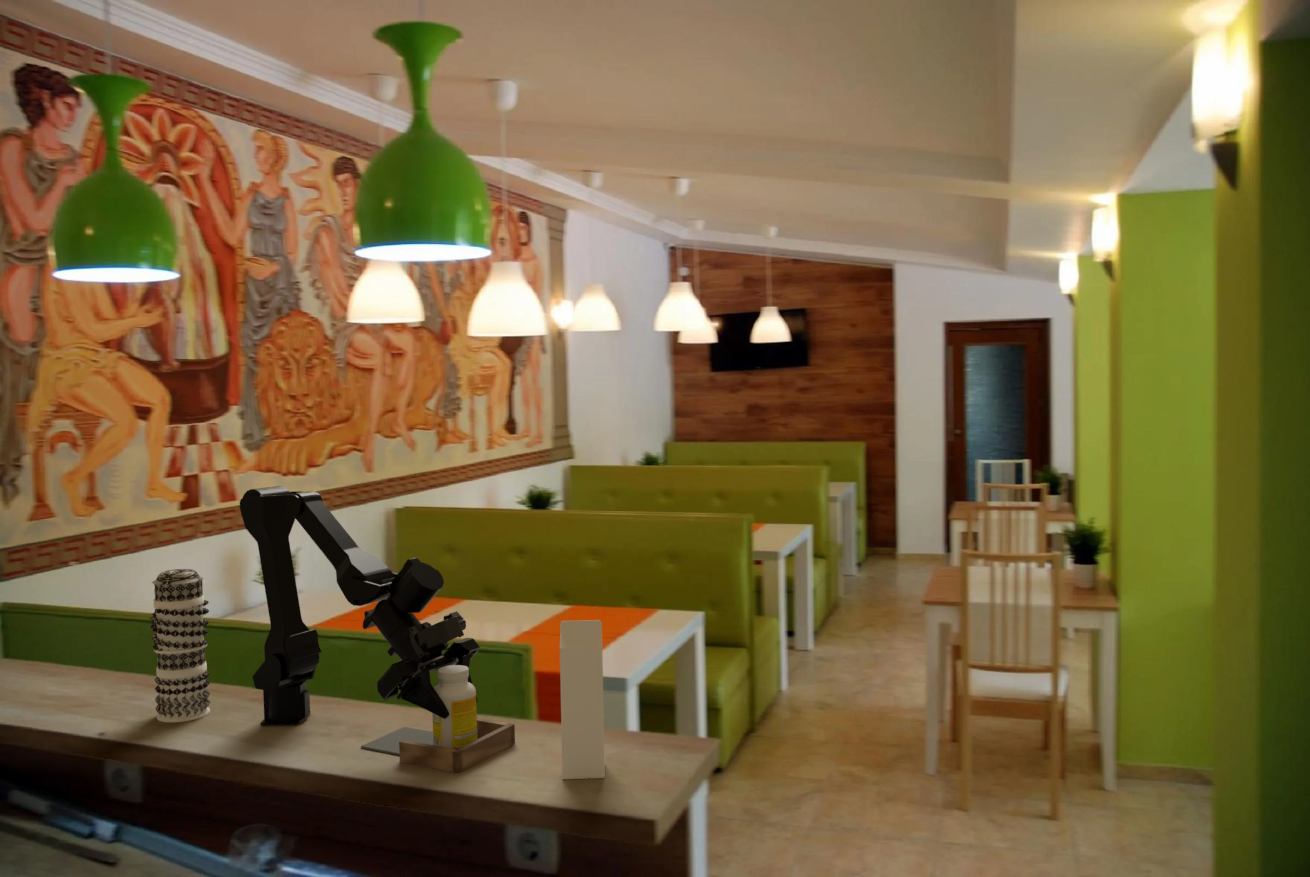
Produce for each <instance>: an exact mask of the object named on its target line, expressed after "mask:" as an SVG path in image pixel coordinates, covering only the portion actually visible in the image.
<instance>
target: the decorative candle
mask: <svg viewBox="0 0 1310 877" xmlns="http://www.w3.org/2000/svg"><path fill="white" fill-rule="evenodd" d="M203 579H204V577H203V576H200V575H199V573H198V572H197V570H195V569H191V568H177V569H176V568H175V569H169V570H164V571H162V572H160V573H159V574H157V576H156V579H155V580H153V581H152V582H151V583H152V584H153V586H154V599H153V608H154V612H152V614H151V615H150V617H149V619H150V620H151V622H152V624H151V625H150V629H151V631H152V632H154V633H153V636H152V637H151V640H152V641H153V643H154V645H152V649H153V652H154V653H156V654H157V657H156V661H157V666H156V668H155V669H156V677H155V678H154V682H155V683H156V685H157V686H156V687H154V690H155V692H156V693H157V696H156V697H155V699H154V701H155V703H156V704H157V705H156V706H155V711H156V712H157V715H156V719H157V721H158V722H162V723H183V722H184V723H185V722H189V721H194V720H197V719H200V718H204V717H206V716H208V715H209V714H210V712H211V709H210V707H209V706H210V704H211V700H210V699H209V696H210V695H211V692H210V690H209V689H208V688H207V687H208V686H209V685H210V683H211V682H210V681H209V680H208V677H209V676H210V672H208V670H207V669H208V665H207V660H206V647H207V646H208V644H209V641H207V640H206V639H205V637H204V636H205V635H207V634H208V633H209V631H210V630H209V629H206V628H205V627H206V626H207V625H209V621H208V620H206V618H204V616H205V615H207V614H208V613H209V612H210V610H209V609H208V608H206V605H209V603H210V602H209V601H208V600H206V599H205V595H204V592H203V590H204V589H203V588H204V587H203Z"/></svg>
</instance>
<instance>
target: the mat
mask: <svg viewBox="0 0 1310 877" xmlns="http://www.w3.org/2000/svg"><path fill="white" fill-rule="evenodd" d="M402 740H408V741H414V742H419V743H424V744H430V745H433V731H429V730H423V729H418V728H414V727H407V726H403V727H401V728H399V729H396V730H394V731H391V732H390V733H388V734H385V735H383V736H380V737H378V738H376V739H373V740H371V741H369V742H367V743H365V744H362V745H360V748H361V749H363V750H364V749H365V750H369V751H370V750H371V751H374V752H378V753H379V752H380V753H384V754H390V755H395V756H400V752H399V742H400V741H402Z"/></svg>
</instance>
